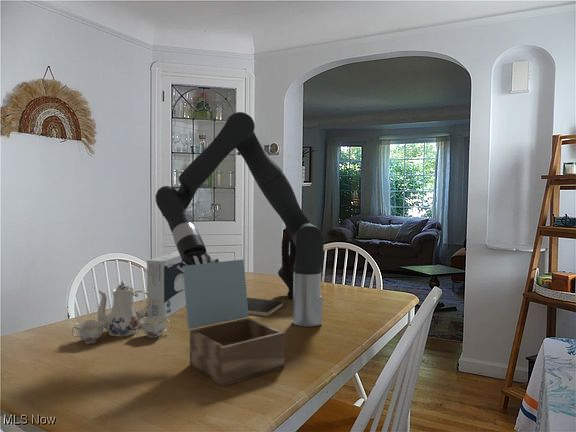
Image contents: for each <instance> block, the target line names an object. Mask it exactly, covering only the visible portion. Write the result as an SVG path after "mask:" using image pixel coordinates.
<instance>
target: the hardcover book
mask: <svg viewBox="0 0 576 432" xmlns="http://www.w3.org/2000/svg"><path fill="white" fill-rule="evenodd" d="M247 304H248V315H255V316H261V317H262V316H264V317H268V316H269V315H271V314H273V313H275V312H276V311H277V310H279V309H280V308H281V307H283V306H285V303H284V301H283V300H275V299H274V300H273V299H264V298H254V297H247Z"/></svg>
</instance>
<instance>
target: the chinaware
mask: <svg viewBox="0 0 576 432" xmlns="http://www.w3.org/2000/svg"><path fill="white" fill-rule="evenodd" d="M134 290H135V288H134V287H130V286H129V284H126V282H125V280H121V282H120V284H119V285H117V287H116V288H113V289H111V291H112V296H113V304H112V308H111V312H110V313H109V314H107V313H106V310H107V309H106V308H107V307H106V306H107V300H108V299H107V294H106V292H104V291H103V290H99V291H98V293H99V294H100V295H101V297H100V298H101V300H100V302H99V305H98V309H97V315H96V316H97V317H96V318H97V320H95V319H88V320H85V321H83V322H76V323H75V324H74V326H73V327H72V329H71V334H72V336H73V337H75V338H80V340H81V341H84V342H83V343H84V344H87V345H88V344H95V343H96V342H98V340H97V339H99V338H100V337H101V336H102V334H103V332H104V329H105V330H107V331H108V334H109V336H110V337H111V336H112V337H117V338H119V337H128V336H132V335H135V334H137V333H138V332H139V331H138V329H139V328H141V330H142V332H143V333H144V334H146V335H147V338H149V339H155V338H158V337H160V336H159V335H160V334H161V335H162V334H164V331H165V332H168V331H170V330H171V329H172V327H173V322H172V321H171V320H169V318H168V317H169V316H168V317H164V318H163V317H162V316H159V315H156V316H153V317H151V318H150V317H147V316H145V315H146V311H145V310H147V308H148V307H149V305H150V303H151V298H150V295H149V294H148V293H147V291H145V290H135V291H134ZM139 293H143V294H145V295H146V296H148V298H149V303H148V305H147V304H146V306H145V307H143V308H141V309H138V310H137V311H136V308H135V305H134V301H133V297H135V298H137V297H139ZM168 322H170V327H169V328H168V329H165V327H166V324H167V323H168ZM74 329H75V330H76V332H77V335H75V333H74Z"/></svg>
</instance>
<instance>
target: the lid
mask: <svg viewBox="0 0 576 432" xmlns="http://www.w3.org/2000/svg"><path fill="white" fill-rule="evenodd" d="M183 274H184V286H185V298H186V306H185V307H186V308H185V309H186V320H187V329H188V330H193V329H198V328H203V327H208V326H213V325H217V324H222V323H227V322H232V321H237V320H241V319H246V318H249V315H250V314H248V304H247V298H248V295H247V285H246V283H247V281H246V273H245V260H244V259H237V260H236V259H235V260H226V261H225V260H224V261H219V262H215V263H205V264H196V265H187V266H183Z"/></svg>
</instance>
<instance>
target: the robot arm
mask: <svg viewBox="0 0 576 432" xmlns="http://www.w3.org/2000/svg"><path fill="white" fill-rule="evenodd" d="M255 128H256V127H255V121H254V119H253V117H252V116H251V115H249V114H248V113H246V112H244V111H237V112H234V113H232V114H231V115H229V116H228V117H227V119H226V121H225V124H224V125H223V126H222V128H221V130H220V131H219V133H218V134H217V136H216V137H215V138H214V139H213V140H212V141H211V143H209V144H208V146H207V147H205V149H204V150H202V151H201V153H200V154H199V155H197V157H196V158H194V160H192V161H191V162H190V163H189V165H187V167H186V168H185V169H184V170H183V171H182V172H181V173H180V174H179V175H178V182H179V183H180V186H179V188H178V190H177V189H176V188H174V187H173V186H169V185H164V186H161V187H159V188H158V190H157V191H156V194H155V203H156V206H157V207H158V210H159V211H160V213H161V214H162V216H163V217H164V218H165V220H166V222H167V223H168V227H169V229H170V232H171V234H172V237H173V241H174V245H175V247H176V249H177V251H179V254H180V256H181V259H182V262H181V263H180V264H179V266H178V268H177V270H178V271H179V272H181V273H182V274H183V266H187V265H196V264H205V263H215V262H220V260H219V258H215V259H214V258H211V256H210V254H208V251H207V247H206V245H205V242H204V241H203V239H202V236H201V234H200V232H199V230H198V228H197V226H196V225H195V223H194V221H193V219H192V216H191V214H190V213H189V211H187V209H188V207H189V205H190V204H191V203H192V200H193V199H194V197H195V195H196V193H197V191H198V189H199V188H200V187H202V185H203V184H204V183H205V182H206V181H207V180H208V179H209V178H210V177H211V175H212V174H213V173H214V172H215V170H216V169H217V168H218V167H219V166H220V164H221V163H222V162H223V161H224V160H225V158H226V157H228V155H229V154H230V153H231V152H232V151H233V150H235V149H236V150H237V152H238V153H239V154H240V156H241V157H242V158H243V160H244V162H245V163H246V165H247V168H248V169H249V172H250V174H251V175H252V178H253V179H254V181H255V182H256V184H257V186H258V188H259V189H260V191H261V193H262V194H263V196H264V197H265V198H266V201H268V203H269V205H270V206H271V207H272V209H273V210H274V211H275V212H276V213H277V215H278V216H279V217H280V219H281V221H282V222H283V223H284V225H285V226H284V227H285V228H286V227H287V229H288V231H289V233H290V236H291V238H292V240H293V242H294V244H295V245H296V256H295V263H294V274H293V298H292V323H293V324H294V326H299V327H315V326H320V325H322V324H323V295H322V293H321V292H322V290H321V289H322V277H321V271H322V267H323V263H324V262H323V261H324V247H325V246H324V240H325V239H324V234H323V232H322V230H321V229H320V228H319V227H317V225H314V224H312V222H311V221H310V219H309V218H308V217H307V216H306V214H305V213H304V211H303V210H302V209H301V206H300V205H299V202H298V200H297V197H296V194H295V191H294V190H293V187H292V184H291V183H290V181H289V180H288V178H287V177H286V175H285V173H284V171H283V170H282V169H281V167H280V166H279V165H278V163H277V162H275V160H274V159H273V158H272V157H271V156H270V155H269V154H268V153H267V151H266V150H265V149H264V148H263V146H262V144H261V142H260V141H259V139H258V137H257V135H256V133H255ZM183 275H184V274H183Z"/></svg>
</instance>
